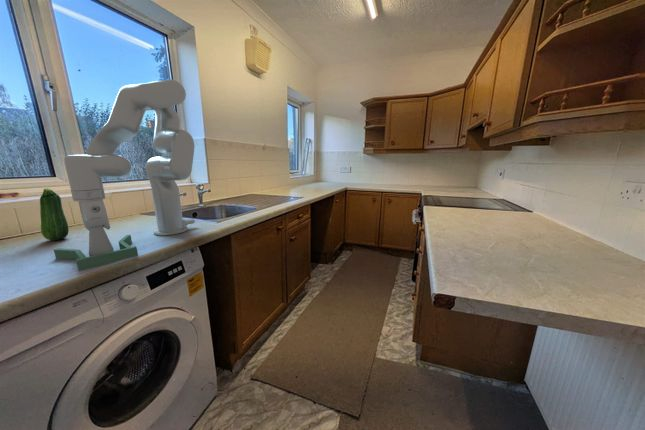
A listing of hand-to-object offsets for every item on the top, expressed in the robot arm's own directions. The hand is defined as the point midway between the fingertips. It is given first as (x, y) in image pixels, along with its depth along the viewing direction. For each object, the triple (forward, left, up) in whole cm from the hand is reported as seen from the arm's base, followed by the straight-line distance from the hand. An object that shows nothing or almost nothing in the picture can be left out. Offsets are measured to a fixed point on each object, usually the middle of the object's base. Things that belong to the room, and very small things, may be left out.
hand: (100, 249), depth 82 cm
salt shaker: (+1, +6, -1) cm, 6 cm away
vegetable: (+7, -31, -2) cm, 32 cm away
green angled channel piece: (0, +3, -1) cm, 3 cm away
